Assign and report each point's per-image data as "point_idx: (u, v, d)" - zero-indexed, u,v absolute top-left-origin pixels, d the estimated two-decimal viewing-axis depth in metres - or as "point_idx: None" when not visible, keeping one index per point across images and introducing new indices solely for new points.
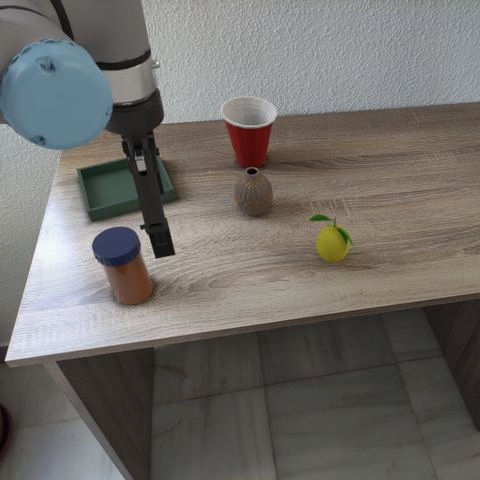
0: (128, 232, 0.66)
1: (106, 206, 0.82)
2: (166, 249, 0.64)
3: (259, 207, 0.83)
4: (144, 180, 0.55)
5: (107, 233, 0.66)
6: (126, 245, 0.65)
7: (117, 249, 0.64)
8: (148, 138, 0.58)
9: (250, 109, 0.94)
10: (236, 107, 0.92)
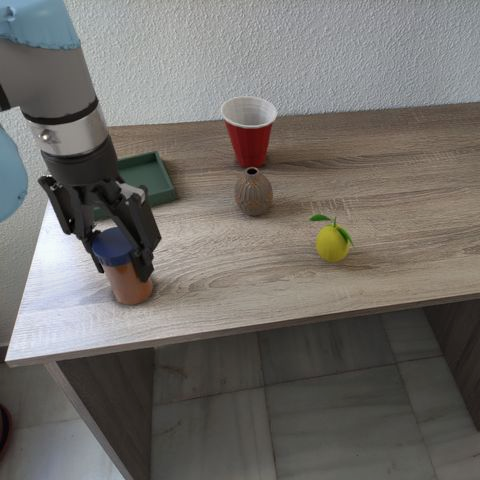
0: None
1: None
2: None
3: (259, 207, 0.83)
4: None
5: (107, 233, 0.66)
6: (126, 245, 0.65)
7: (117, 249, 0.64)
8: None
9: (250, 109, 0.94)
10: (236, 107, 0.92)
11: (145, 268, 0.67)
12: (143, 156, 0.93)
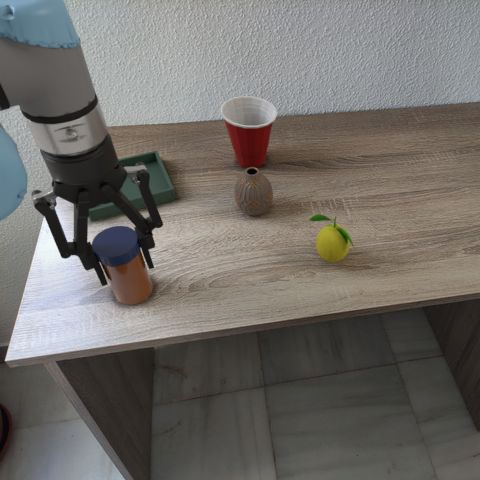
0: (117, 229, 0.67)
1: (106, 206, 0.82)
2: None
3: (259, 207, 0.83)
4: None
5: (99, 240, 0.65)
6: (129, 237, 0.66)
7: (125, 244, 0.65)
8: (80, 188, 0.56)
9: (250, 109, 0.94)
10: (236, 107, 0.92)
11: None
12: (143, 156, 0.93)
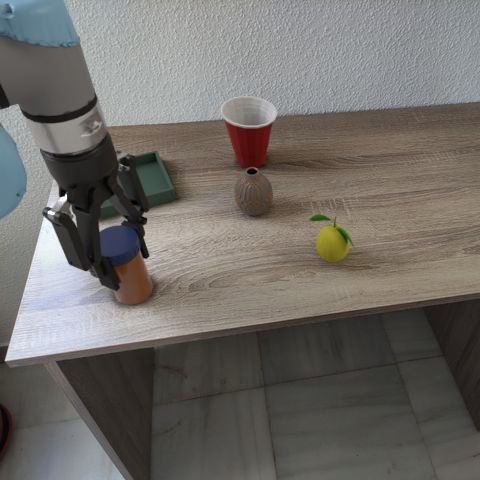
0: (106, 231, 0.66)
1: (106, 206, 0.82)
2: (108, 283, 0.66)
3: (259, 207, 0.83)
4: (60, 230, 0.55)
5: None
6: (124, 232, 0.66)
7: (127, 238, 0.65)
8: (90, 188, 0.56)
9: (250, 109, 0.94)
10: (236, 107, 0.92)
11: None
12: (143, 156, 0.93)
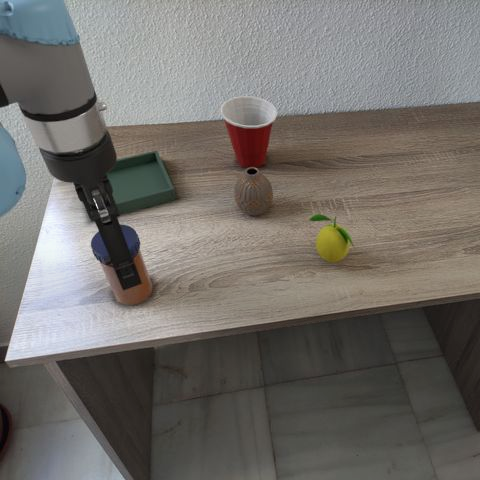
0: (96, 241, 0.64)
1: None
2: (132, 279, 0.66)
3: (259, 207, 0.83)
4: (109, 229, 0.56)
5: None
6: None
7: None
8: (103, 181, 0.57)
9: (250, 109, 0.94)
10: (236, 107, 0.92)
11: None
12: (143, 156, 0.93)
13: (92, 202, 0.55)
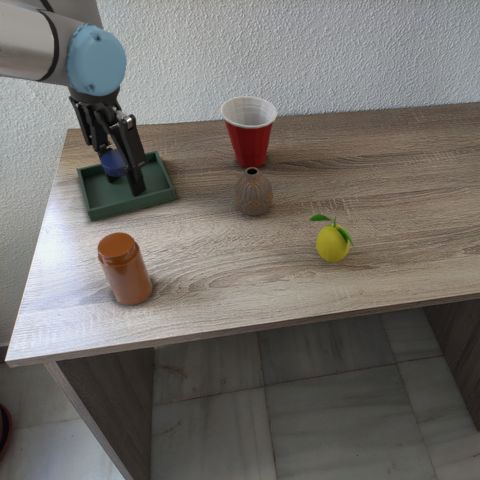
0: (105, 162, 0.83)
1: (106, 206, 0.82)
2: (140, 186, 0.87)
3: (259, 207, 0.83)
4: (131, 134, 0.77)
5: (120, 164, 0.83)
6: (112, 153, 0.85)
7: None
8: None
9: (250, 109, 0.94)
10: (236, 107, 0.92)
11: None
12: None
13: (114, 116, 0.75)
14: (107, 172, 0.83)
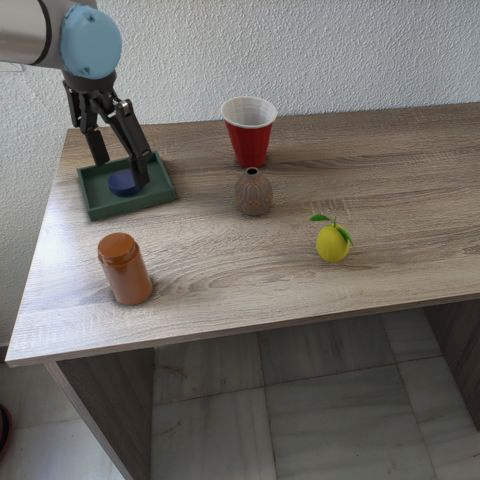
0: (112, 183, 0.87)
1: (106, 206, 0.82)
2: (144, 178, 0.84)
3: (259, 207, 0.83)
4: (129, 120, 0.74)
5: (126, 185, 0.86)
6: (119, 174, 0.89)
7: (126, 173, 0.89)
8: None
9: (250, 109, 0.94)
10: (236, 107, 0.92)
11: None
12: None
13: (110, 105, 0.74)
14: (114, 193, 0.87)
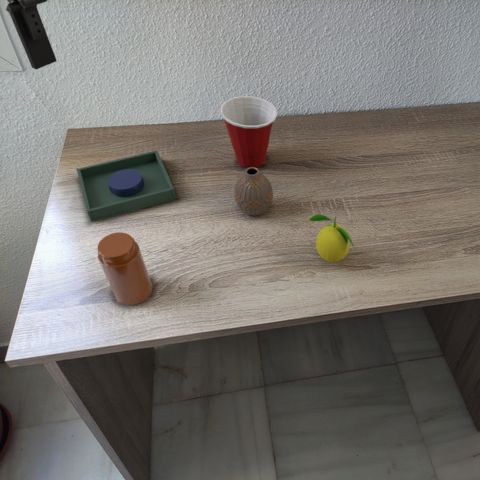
0: (112, 183, 0.87)
1: (106, 206, 0.82)
2: (44, 52, 0.54)
3: (259, 207, 0.83)
4: None
5: (126, 185, 0.86)
6: (119, 174, 0.89)
7: (126, 173, 0.89)
8: None
9: (250, 109, 0.94)
10: (236, 107, 0.92)
11: None
12: (143, 156, 0.93)
13: None
14: (114, 193, 0.87)
